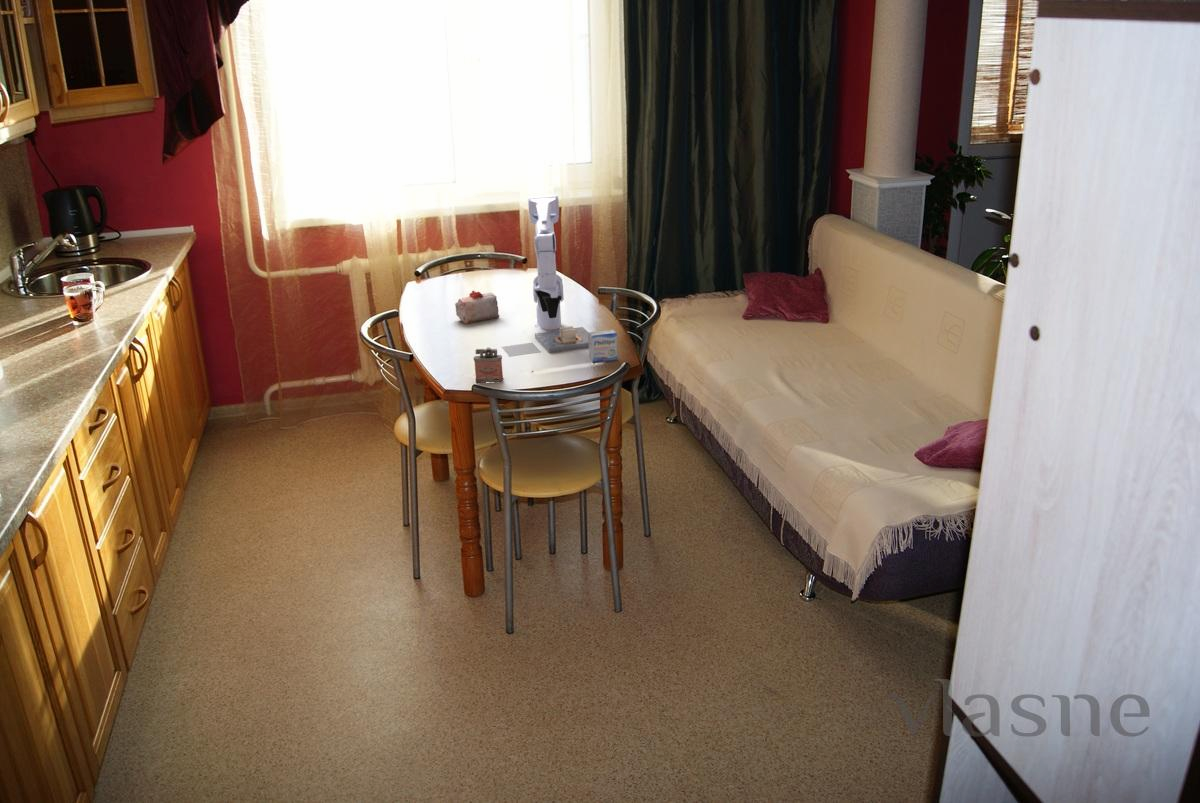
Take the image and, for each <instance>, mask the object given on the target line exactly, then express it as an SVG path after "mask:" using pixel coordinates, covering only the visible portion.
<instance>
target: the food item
mask: <svg viewBox="0 0 1200 803" xmlns="http://www.w3.org/2000/svg"><path fill="white" fill-rule="evenodd" d="M497 298H498V297H497V296H496V295H495V294H494V293H493V292H486V293H481V292H479V291H475V290H472V291H471V292H470V293H469V296H466V297H462V298H459V299H457V300H458V301H457V302H455V303H454V304H455V305H454V306H455V313H456V317H458V319H459V320H461V321H462V322H463V323H464V324H465V325H466V324H472V323H477V322H481V321H485V320H486V321H487V320H492V318H493V319H496V318H500V315H499V306H498V304H499V303H498V300H497ZM476 321H477V322H476Z"/></svg>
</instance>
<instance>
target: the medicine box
mask: <svg viewBox="0 0 1200 803" xmlns="http://www.w3.org/2000/svg"><path fill="white" fill-rule="evenodd" d="M588 343H589V347H588V356H589V358H590V360H592V363H593V364H598V363H606V362H613V361H618V333H617V332H616V331H615V330H614V329H605V330H598V331H597V330H596V331H590V332H589V331H588Z"/></svg>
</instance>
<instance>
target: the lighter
mask: <svg viewBox="0 0 1200 803" xmlns="http://www.w3.org/2000/svg"><path fill="white" fill-rule="evenodd" d="M474 351H475V355H476V356H473V361H474V369H475V370H474V371H475V383H476V384H478V383H480V384H481V383H486V382H500V383H503V382H504V381H505V380H504V377H503V376H504V374H503V364H502V360H503V356H502V355H501V354H498V349H497V348H491V347H486V348H485V349H484V348H475V350H474ZM503 380H504V381H503ZM502 381H503V382H502ZM480 384H479V385H480ZM481 385H482V384H481Z"/></svg>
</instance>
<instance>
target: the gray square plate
mask: <svg viewBox="0 0 1200 803" xmlns="http://www.w3.org/2000/svg"><path fill="white" fill-rule="evenodd" d="M501 348H502V350H503V351H504V352H505V353H506V354H507V356H508V357H515V356H523V355H530V354H531V355H532V354H536V353H537V354H538V353H541V352H542V351H541V350H540V349H539V348H538V347H537V346H536V344H534V342H526V343H519V344H513V345H505V346H501Z"/></svg>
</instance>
